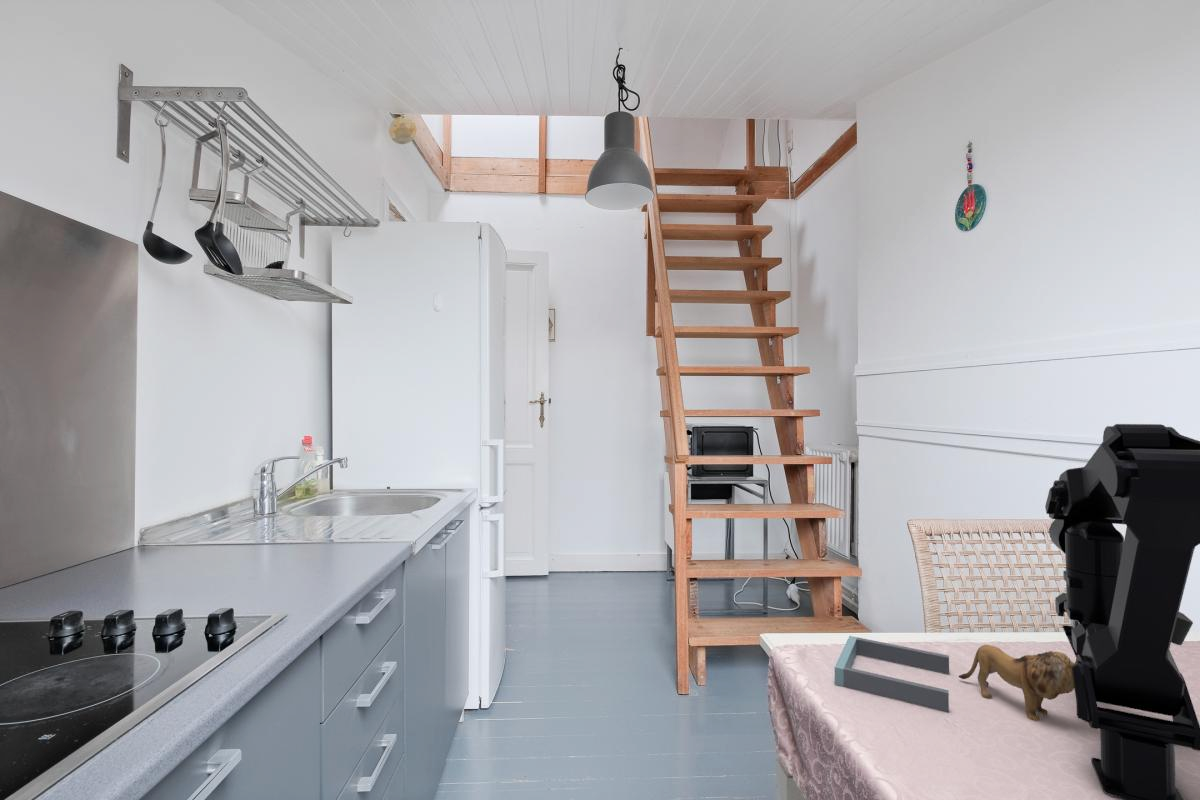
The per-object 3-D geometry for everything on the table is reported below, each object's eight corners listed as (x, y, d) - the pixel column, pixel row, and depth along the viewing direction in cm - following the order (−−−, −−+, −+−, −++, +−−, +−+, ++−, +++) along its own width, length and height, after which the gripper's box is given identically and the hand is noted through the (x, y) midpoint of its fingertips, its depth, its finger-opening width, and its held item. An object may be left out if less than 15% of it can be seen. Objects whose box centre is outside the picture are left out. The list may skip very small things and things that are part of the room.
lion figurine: (1088, 726, 71) (1086, 654, 71) (1066, 736, 69) (1065, 662, 69) (968, 677, 84) (968, 617, 84) (947, 684, 82) (946, 622, 82)
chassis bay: (948, 712, 74) (948, 693, 74) (834, 684, 82) (834, 667, 82) (949, 671, 86) (949, 655, 86) (849, 650, 93) (849, 635, 93)
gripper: (1211, 602, 60) (1215, 750, 59) (1159, 563, 75) (1162, 680, 75) (1076, 584, 66) (1078, 718, 65) (1053, 552, 81) (1056, 660, 81)
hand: (1097, 692), depth 71 cm, fingers closed
